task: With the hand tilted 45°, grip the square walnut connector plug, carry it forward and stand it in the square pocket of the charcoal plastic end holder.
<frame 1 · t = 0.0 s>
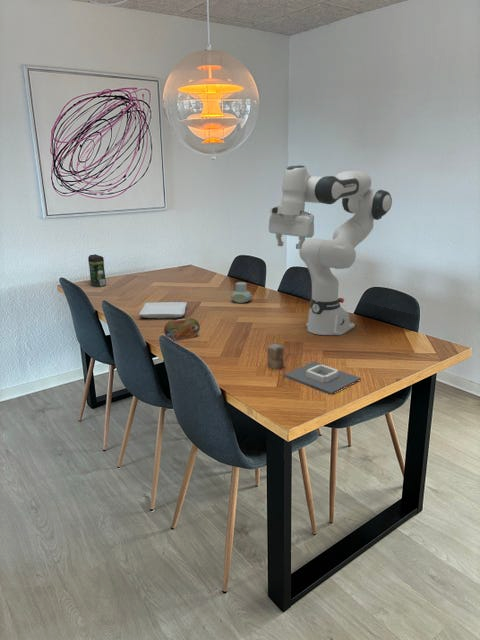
hand: (289, 247, 189), 39 cm above the table, tool pointing down, fingers open, 8 cm apart
coffee jar: (98, 285, 300), on the table
tin: (182, 338, 209), on the table
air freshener: (241, 302, 261), on the table
plug: (275, 366, 179), on the table
end holder: (322, 378, 168), on the table
salad plate: (164, 314, 243), on the table
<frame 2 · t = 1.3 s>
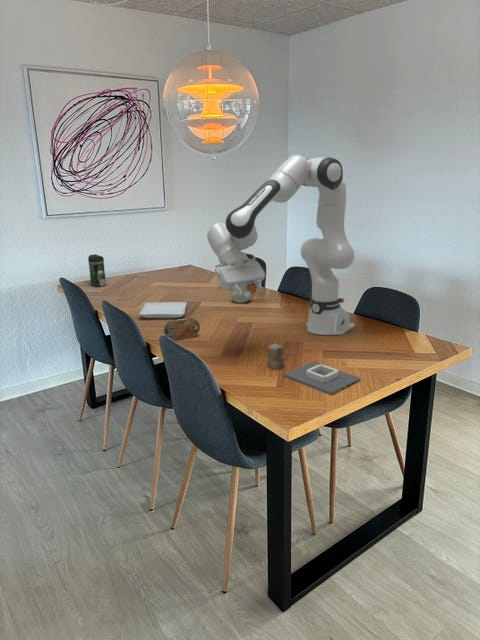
hand: (251, 293, 179), 25 cm above the table, tool tilted 45°, fingers open, 8 cm apart
nothing on the table moved.
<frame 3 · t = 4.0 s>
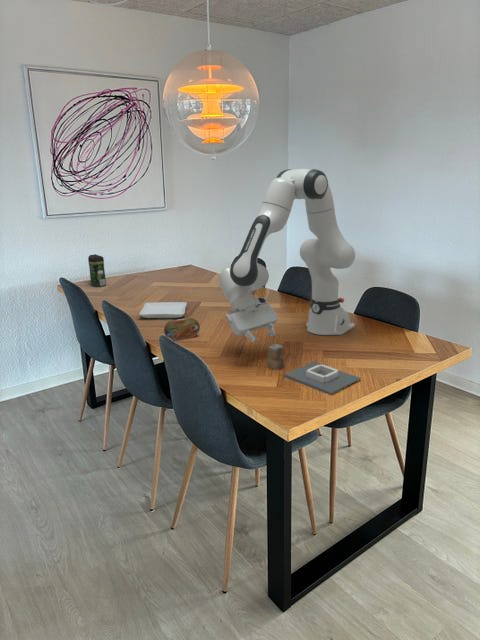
hand: (264, 338, 179), 9 cm above the table, tool tilted 45°, fingers open, 8 cm apart
nothing on the table moved.
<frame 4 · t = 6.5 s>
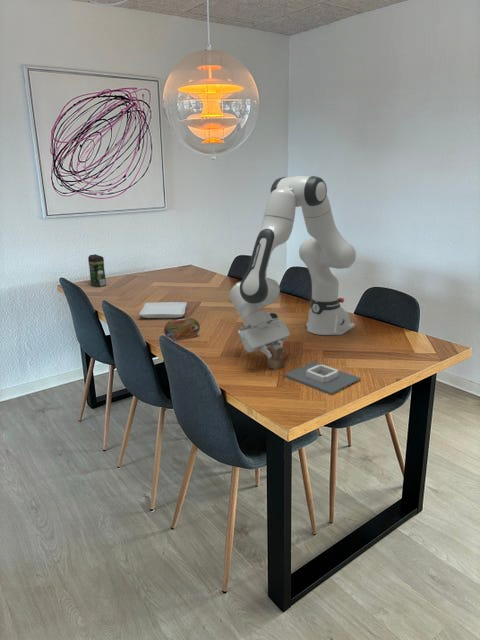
hand: (276, 355, 177), 5 cm above the table, tool tilted 45°, fingers closed on plug, 4 cm apart
plug: (275, 366, 179), on the table, touching gripper
everything else where it was.
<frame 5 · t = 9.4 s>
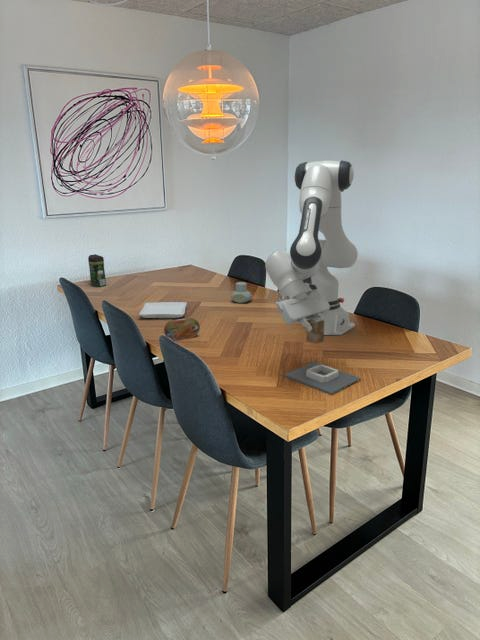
hand: (317, 328, 164), 17 cm above the table, tool tilted 45°, fingers closed on plug, 4 cm apart
plug: (315, 341, 166), point 13 cm above the table, touching gripper
everything else where it was.
when the fingers open (6 cm above the table, at t = 12.6 s): plug stays where it is, resting on end holder.
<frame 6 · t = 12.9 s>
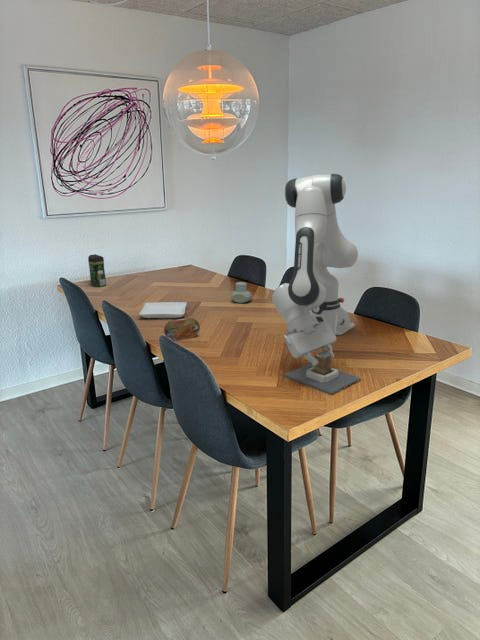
hand: (324, 361, 166), 6 cm above the table, tool tilted 45°, fingers open, 7 cm apart
plug: (322, 376, 168), point 1 cm above the table, touching end holder
everything else where it was.
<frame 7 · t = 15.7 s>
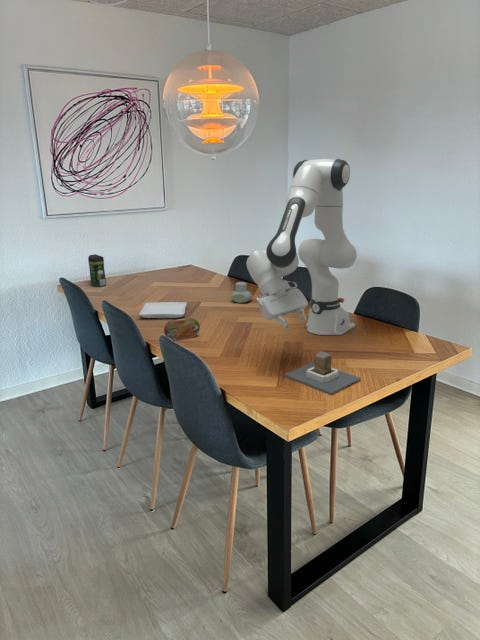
hand: (295, 323, 172), 16 cm above the table, tool tilted 45°, fingers open, 8 cm apart
nothing on the table moved.
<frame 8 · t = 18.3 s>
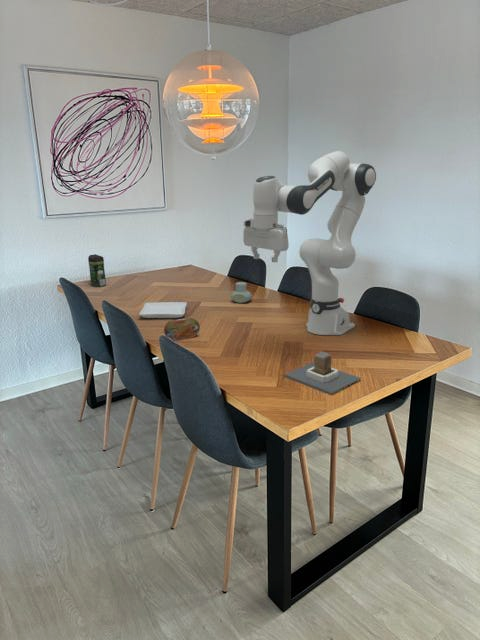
hand: (265, 260, 185), 35 cm above the table, tool pointing down, fingers open, 8 cm apart
nothing on the table moved.
at the end: plug 0.1 cm off-centre on the end holder, point 0.8 cm above the end holder's base; plug tilted 0°; the gripper is holding nothing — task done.
